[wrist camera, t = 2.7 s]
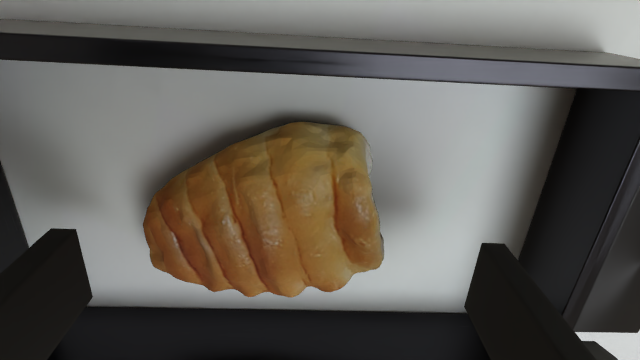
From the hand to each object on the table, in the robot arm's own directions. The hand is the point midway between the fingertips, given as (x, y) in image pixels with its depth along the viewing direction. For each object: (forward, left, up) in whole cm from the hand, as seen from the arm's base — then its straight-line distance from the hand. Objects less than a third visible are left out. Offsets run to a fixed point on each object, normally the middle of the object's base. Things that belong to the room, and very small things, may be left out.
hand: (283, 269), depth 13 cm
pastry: (0, 0, -4) cm, 4 cm away
